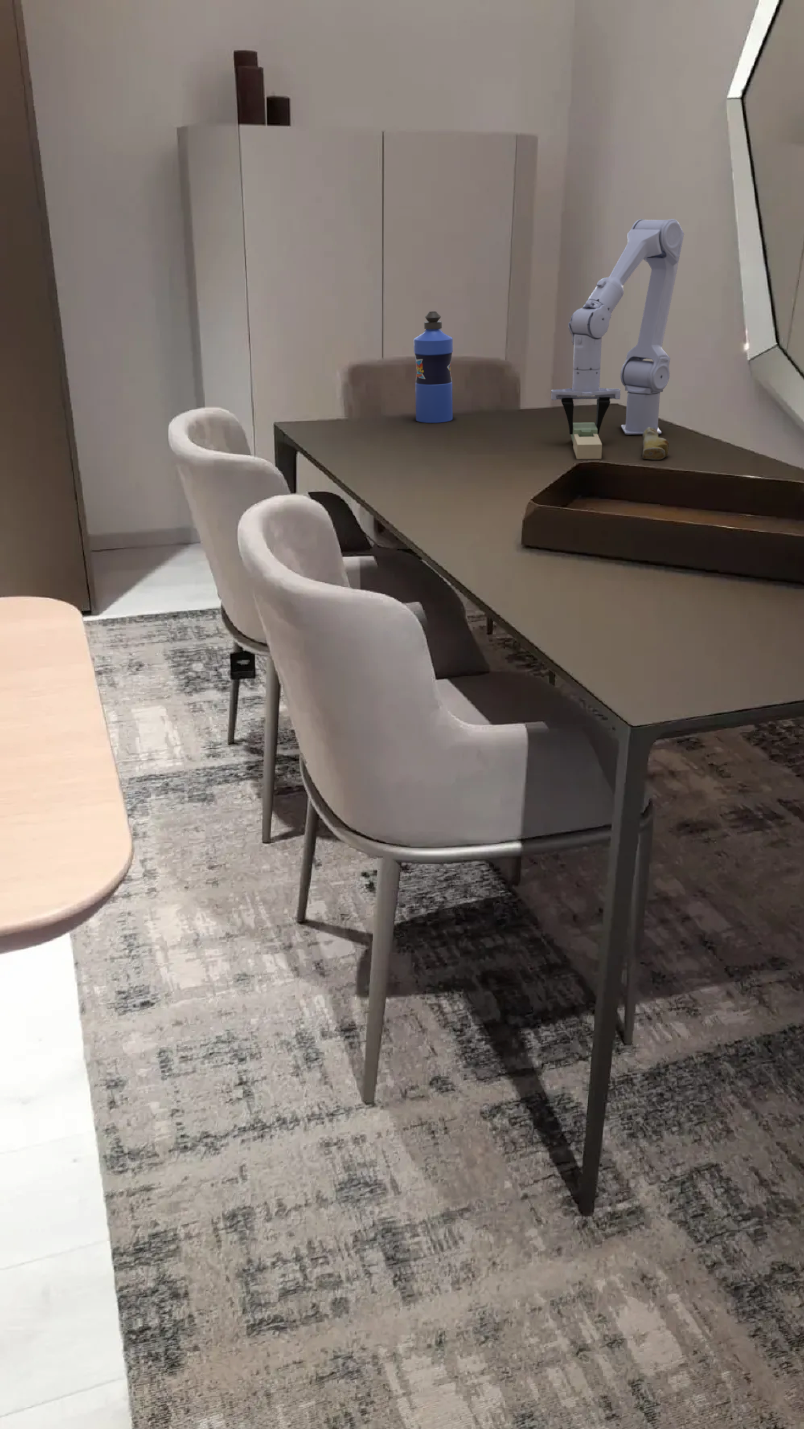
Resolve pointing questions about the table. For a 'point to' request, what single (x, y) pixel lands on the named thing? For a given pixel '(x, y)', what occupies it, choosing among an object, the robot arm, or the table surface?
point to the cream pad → (587, 447)
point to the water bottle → (433, 372)
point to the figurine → (654, 445)
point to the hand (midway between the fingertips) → (583, 433)
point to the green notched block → (584, 430)
